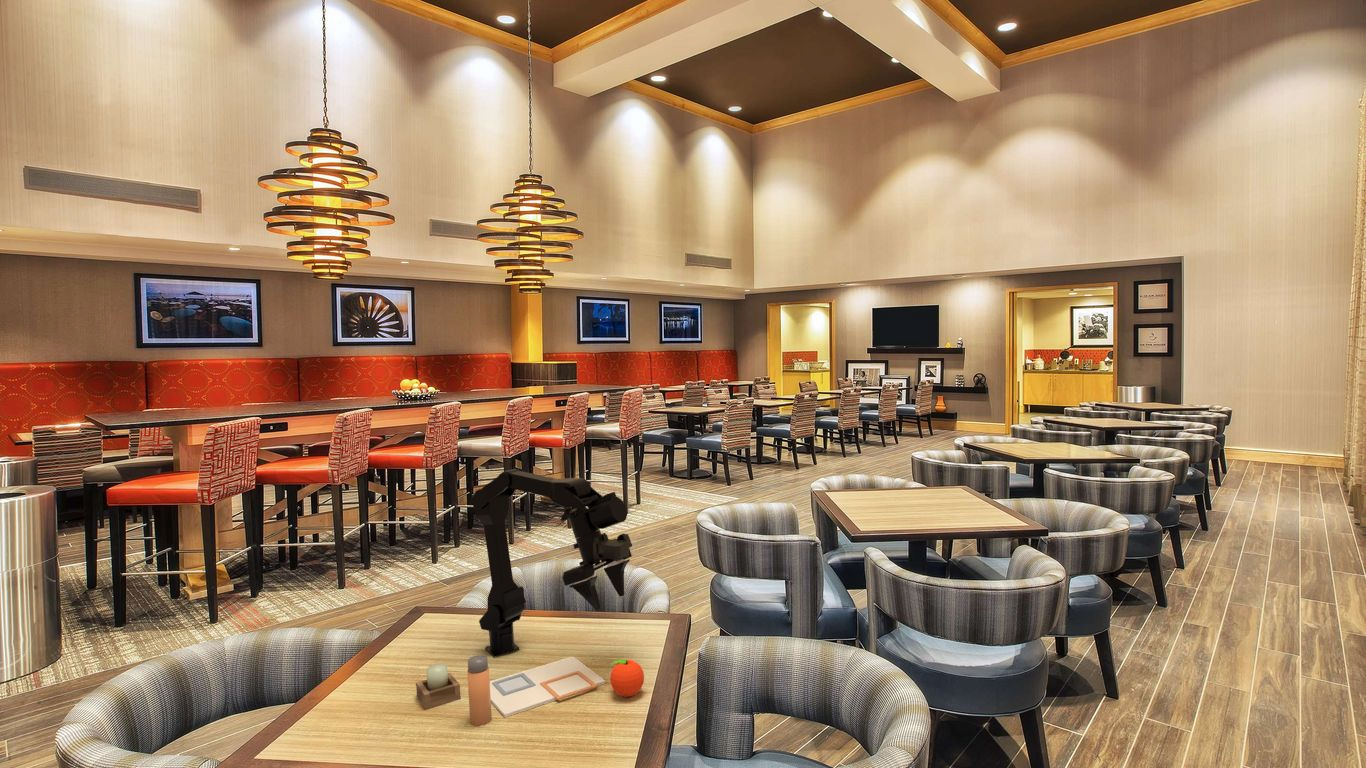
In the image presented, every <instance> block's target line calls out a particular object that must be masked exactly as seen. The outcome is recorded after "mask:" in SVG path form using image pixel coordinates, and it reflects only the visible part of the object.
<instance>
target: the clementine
mask: <svg viewBox="0 0 1366 768" xmlns="http://www.w3.org/2000/svg"><path fill="white" fill-rule="evenodd" d="M614 664H615V665H614ZM611 665H614V667H613V668H612V669H611V672H610V675H609V676H610V677H609V681H610V685H611V688H612V690H613V691H614V692H615V693H616V694H617V695H619V696H622V697H625V698H626V697H632V696H635V695H636V694H638V693H639V691H641V689H642V687H643V685H644V682H645V673H644V670H643V668H642V667H641V665H640V664H639V663H638V662H636V661H635V660H632V659H618V660H615V661H613V662H612V663H611ZM609 668H610V666H608V667H607V671H608V670H609Z"/></svg>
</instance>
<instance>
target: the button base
mask: <svg viewBox="0 0 1366 768" xmlns="http://www.w3.org/2000/svg"><path fill="white" fill-rule="evenodd" d="M447 673H448V672H447ZM415 687H416V697H418V698H417V699H418V701H419V702H420V704H421V705H422V707H423V708H424V710H428V709H433V708H436V707H438V706H442V705H445V704H448V703H452V702H455V701H458V700H460V699H461V685H460V683H459V682H458V681H457V679H456V677H455V676H454V675H453V674H452V673H451V672H449V673H448V686H446V687H442V688H439V689H436V690H432V691H429V690H428V685H427V679H424V680H421V681H417V682H415Z"/></svg>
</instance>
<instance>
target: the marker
mask: <svg viewBox="0 0 1366 768" xmlns="http://www.w3.org/2000/svg"><path fill="white" fill-rule="evenodd" d="M488 658H489V657H488V656H487V655H485V654H478V655H474V656H471V657H469V658H468V659H467V672H466V673H467V686H468V687H467V688H468V691H467V692H468V706H469V711H468V712H469V722H470V723H469V724H470V725H471V726H474V727H479V726H481V727H482V726H484V725H487V724H489V723H490V722H491V721H492V720H493V719H492V703H491V697H490V681H491V680H490V666H489V662H488V661H489V659H488Z"/></svg>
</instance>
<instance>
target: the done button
mask: <svg viewBox="0 0 1366 768" xmlns="http://www.w3.org/2000/svg"><path fill="white" fill-rule="evenodd" d="M426 680H427V685H428V690H429V691H432V690H436V689H439V688H442V687H446V686H448V664H445V663H436V664H433V665H430V666H428V667H427V668H426Z"/></svg>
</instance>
